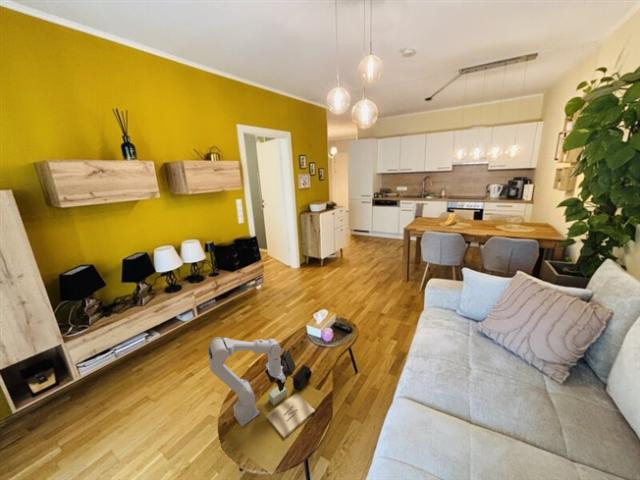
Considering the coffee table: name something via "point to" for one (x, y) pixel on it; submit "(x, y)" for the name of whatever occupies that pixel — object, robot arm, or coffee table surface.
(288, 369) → the phone stand
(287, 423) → the birch board
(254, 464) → the coffee table surface
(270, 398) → the block
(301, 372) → the digital camera
